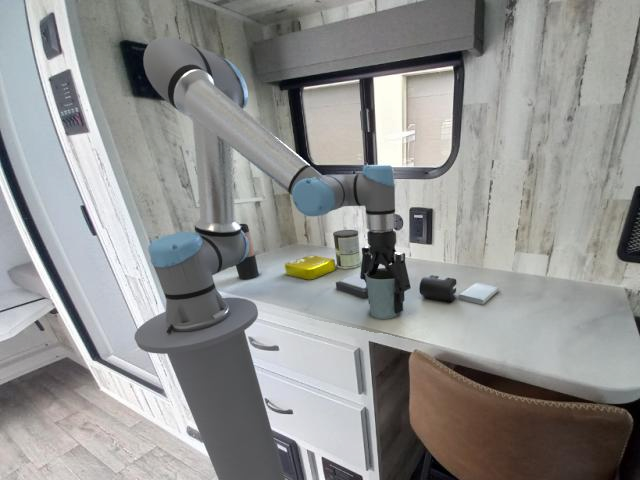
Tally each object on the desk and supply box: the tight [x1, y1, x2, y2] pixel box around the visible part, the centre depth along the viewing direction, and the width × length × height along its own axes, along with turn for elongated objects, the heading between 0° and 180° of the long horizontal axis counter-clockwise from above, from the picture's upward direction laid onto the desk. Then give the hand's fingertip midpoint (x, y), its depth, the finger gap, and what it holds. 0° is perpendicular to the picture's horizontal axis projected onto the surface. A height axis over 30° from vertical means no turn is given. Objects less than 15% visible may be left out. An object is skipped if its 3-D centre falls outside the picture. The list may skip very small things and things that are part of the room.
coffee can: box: [332, 229, 362, 270], centre depth 129 cm, size 10×10×14 cm
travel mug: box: [235, 223, 260, 281], centre depth 117 cm, size 8×8×20 cm
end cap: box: [418, 274, 458, 303], centre depth 96 cm, size 10×7×7 cm
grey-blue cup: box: [365, 267, 400, 320], centre depth 87 cm, size 10×10×12 cm
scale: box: [335, 272, 368, 300], centre depth 107 cm, size 14×14×3 cm
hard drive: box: [458, 282, 499, 305], centre depth 98 cm, size 2×8×12 cm
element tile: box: [284, 254, 336, 281], centre depth 124 cm, size 15×15×5 cm
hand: (385, 307), depth 89 cm, fingers closed on grey-blue cup, 9 cm apart
